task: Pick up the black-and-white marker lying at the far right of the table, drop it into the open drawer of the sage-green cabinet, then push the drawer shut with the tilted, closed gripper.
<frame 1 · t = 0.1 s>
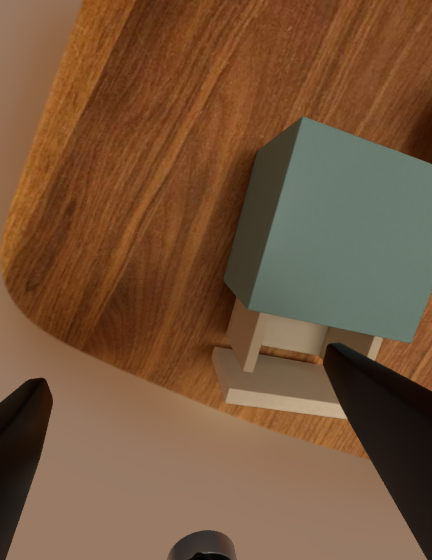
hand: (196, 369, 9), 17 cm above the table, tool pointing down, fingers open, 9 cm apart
cabinet: (302, 235, 26), on the table
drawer: (296, 337, 24), point 4 cm above the table, slide at 6.0 cm
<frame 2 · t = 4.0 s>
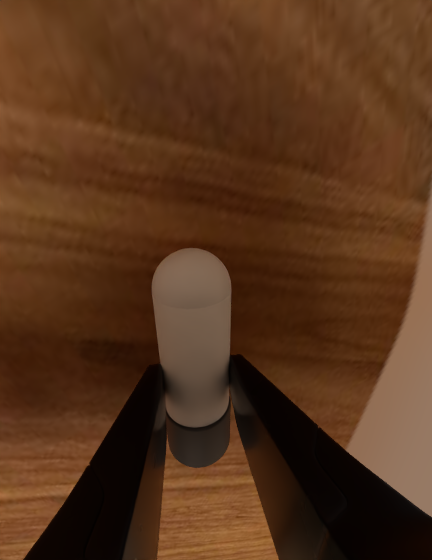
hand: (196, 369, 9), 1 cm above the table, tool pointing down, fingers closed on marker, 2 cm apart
marker: (192, 344, 10), on the table, touching gripper
when the fingers open (7 cm above the table, at t = 8.7 s): marker drops 4 cm, resting on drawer.
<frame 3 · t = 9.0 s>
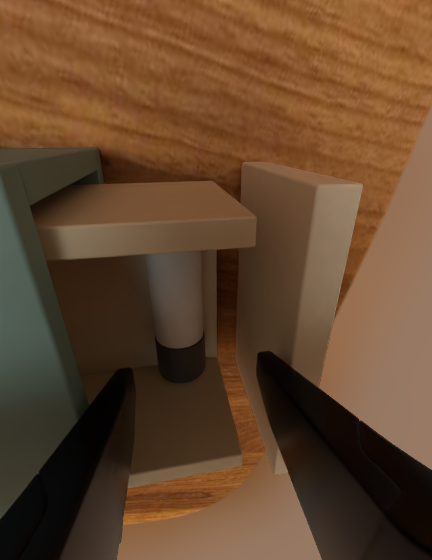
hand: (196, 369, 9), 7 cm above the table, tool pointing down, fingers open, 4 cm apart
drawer: (174, 322, 11), point 4 cm above the table, slide at 6.0 cm, touching marker
marker: (176, 293, 13), point 2 cm above the table, touching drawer
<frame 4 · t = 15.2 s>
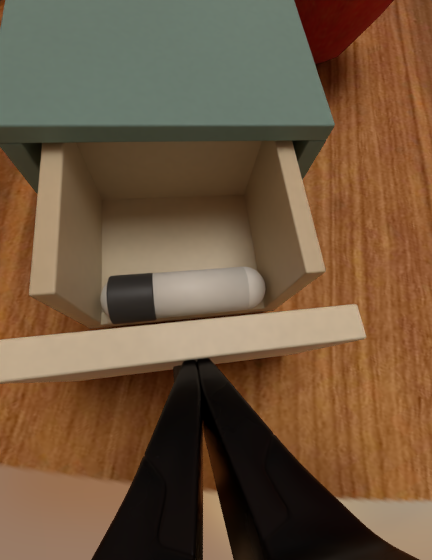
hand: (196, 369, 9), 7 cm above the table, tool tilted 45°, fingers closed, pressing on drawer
cabinet: (171, 163, 20), on the table
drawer: (182, 260, 13), point 4 cm above the table, slide at 6.9 cm, touching gripper, marker
marker: (184, 280, 15), point 2 cm above the table, tilted 54°, touching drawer
apple: (301, 54, 26), on the table
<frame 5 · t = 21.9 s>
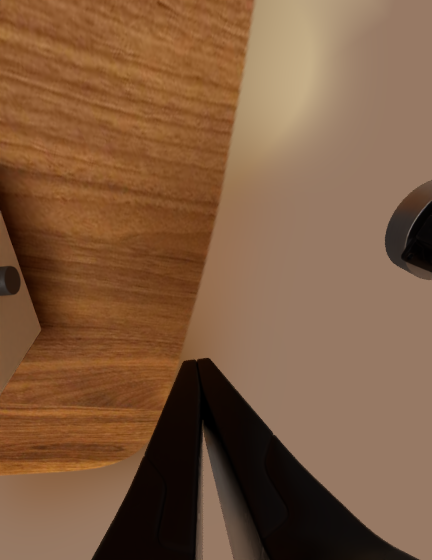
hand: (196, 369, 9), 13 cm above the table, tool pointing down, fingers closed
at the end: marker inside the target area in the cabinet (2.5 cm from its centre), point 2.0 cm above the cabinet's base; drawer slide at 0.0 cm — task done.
